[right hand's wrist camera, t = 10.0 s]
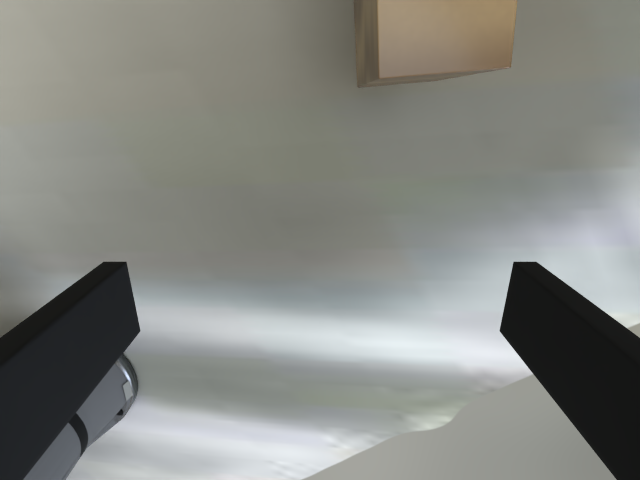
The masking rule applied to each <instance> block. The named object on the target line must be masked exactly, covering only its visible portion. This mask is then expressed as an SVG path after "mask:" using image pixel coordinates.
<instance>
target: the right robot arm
mask: <svg viewBox="0 0 640 480" xmlns="http://www.w3.org/2000/svg"><path fill="white" fill-rule="evenodd" d="M139 332H140V327H139V322H138V317H137V312H136V307H135V302H134V297H133V292H132V288H131V283H130V278H129V273H128V268H127V263H126V262H103V263H102V264H100V265H99V266H97V267H96V268H95V269H93V270H92V271H91V272H89V273H88V274H87V275H85V276H84V277H82V278H81V279H80V280H78V281H77V282H76V283H74V284H73V285H72V286H70V287H69V288H68V289H66V290H65V291H63V292H62V293H61V294H59V295H58V296H57V297H55V298H54V299H53V300H51V301H50V302H48V303H47V304H46V305H44V306H43V307H42V308H40V309H39V310H38V311H36V312H35V313H33V314H32V315H31V316H29V317H28V318H27V319H25V320H24V321H23V322H21V323H20V324H19V325H17V326H16V327H14V328H13V329H12V330H10V331H9V332H8V333H6V334H5V335H4V336H2V337H1V338H0V480H66V478H67V477H68V475H69V474H70V472H71V471H72V469H73V468H74V466H75V465H76V463H77V461H78V460H79V458H80V457H81V456H82V454H83V453H84V451H85V450H86V448H87V447H88V446H90V445H91V444H92V443H93V442H95V441H96V440H97V439H98V438H99V437H101V436H102V435H103V434H104V433H105V432H107V431H108V430H109V429H110V428H112V427H113V426H114V425H115V424H116V423H118V422H119V421H120V420H121V419H122V418H123V417H124V416H125V415H126V413H127V412H128V410H129V409H130V407H131V405H132V404H133V402H134V400H135V398H136V395H137V389H138V384H137V378H136V375H135V372H134V370H133V368H132V366H131V364H130V363H129V361H128V360H127V359H126V358H125V357H124V356H123V352H124V351H125V350H126V349H127V347H128V346H129V345H130V343H131V342H132V341H133V340H134V338H135V337H136V336H137V335H138V333H139ZM500 332H501V333H502V335H503V336H504V337H505V338H506V340H507V341H508V342H509V343H510V345H511V346H512V347H513V349H514V350H515V351H516V352H517V354H518V355H519V356H520V357H521V359H522V360H523V361H524V362H525V364H526V365H527V366H528V368H529V369H530V370H531V371H532V373H533V374H534V375H535V376H536V378H537V379H538V380H539V382H540V383H541V384H542V385H543V387H544V388H545V389H546V390H547V392H548V393H549V394H550V395H551V397H552V398H553V399H554V401H555V402H556V403H557V404H558V406H559V407H560V408H561V409H562V411H563V412H564V413H565V414H566V416H567V417H568V418H569V420H570V421H571V422H572V423H573V425H574V426H575V427H576V428H577V430H578V431H579V432H580V434H581V435H582V436H583V437H584V439H585V440H586V441H587V442H588V444H589V445H590V446H591V447H592V449H593V450H594V451H595V453H596V454H597V455H598V456H599V458H600V459H601V460H602V461H603V463H604V464H605V465H606V467H607V468H608V469H609V470H610V472H611V473H612V474H613V475H614V477H615V478H616V479H617V480H640V338H639V337H638V336H636V335H635V334H634V333H632V332H631V331H630V330H628V329H627V328H626V327H624V326H623V325H621V324H620V323H619V322H617V321H616V320H615V319H613V318H612V317H611V316H609V315H608V314H607V313H605V312H604V311H602V310H601V309H600V308H598V307H597V306H596V305H594V304H593V303H592V302H590V301H589V300H587V299H586V298H585V297H583V296H582V295H581V294H579V293H578V292H577V291H575V290H574V289H572V288H571V287H570V286H568V285H567V284H566V283H564V282H563V281H562V280H560V279H559V278H558V277H556V276H555V275H553V274H552V273H551V272H549V271H548V270H547V269H545V268H544V267H543V266H541V265H540V264H538V263H537V262H514V263H513V268H512V273H511V278H510V283H509V288H508V292H507V297H506V302H505V307H504V312H503V317H502V322H501V327H500Z"/></svg>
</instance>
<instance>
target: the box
mask: <svg viewBox="0 0 640 480" xmlns="http://www.w3.org/2000/svg"><path fill="white" fill-rule="evenodd" d="M516 8H517V0H354V14H355V39H356V65H357V87H370V86H382V85H393V84H405V83H417V82H429V81H438V80H444V79H449V78H455V77H461V76H467V75H472V74H478V73H484V72H489V71H495V70H501V69H506V68H510V67H511V60H512V50H513V39H514V29H515V19H516Z"/></svg>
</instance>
